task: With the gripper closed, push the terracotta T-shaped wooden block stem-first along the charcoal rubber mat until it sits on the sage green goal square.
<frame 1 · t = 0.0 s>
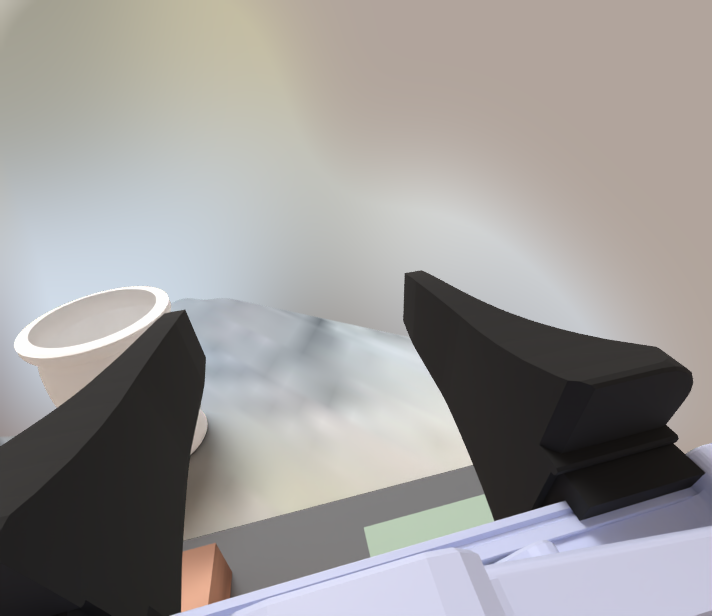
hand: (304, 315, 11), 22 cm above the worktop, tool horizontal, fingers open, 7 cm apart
mat: (490, 612, 21), on the worktop
jar: (165, 440, 35), on the worktop
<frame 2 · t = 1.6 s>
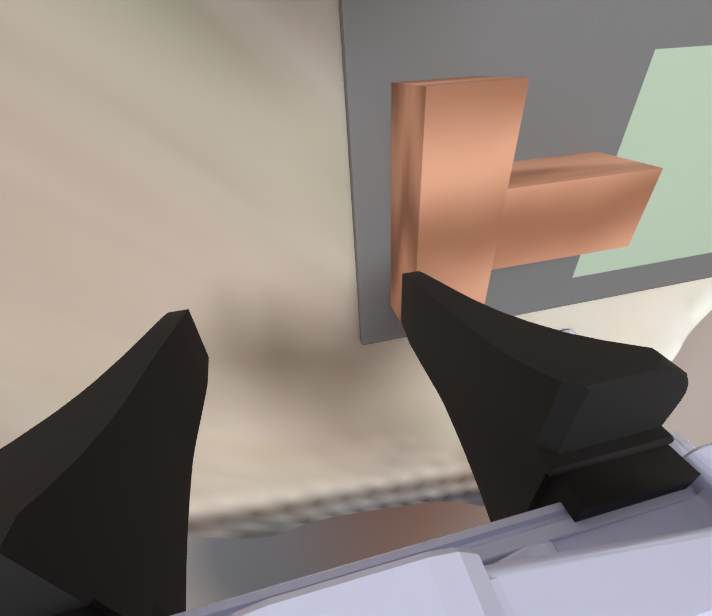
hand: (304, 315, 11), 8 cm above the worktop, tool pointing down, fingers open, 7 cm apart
mat: (686, 169, 22), on the worktop
t block: (492, 200, 19), point 1 cm above the worktop, touching mat
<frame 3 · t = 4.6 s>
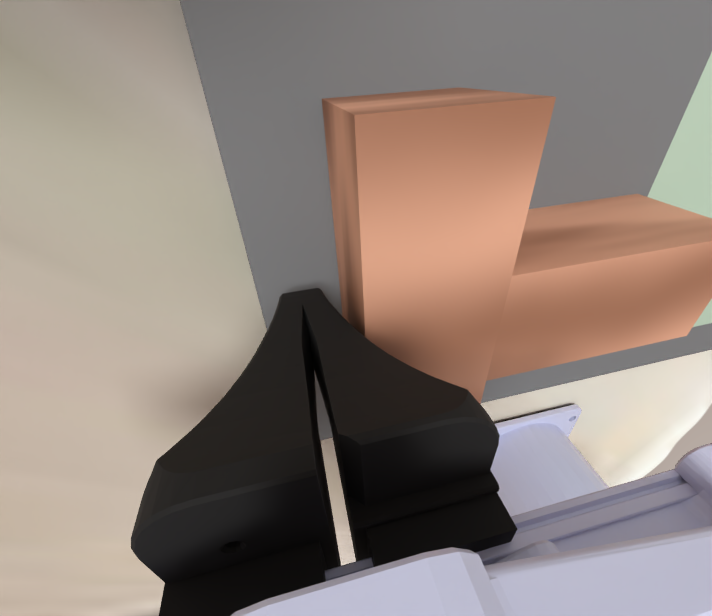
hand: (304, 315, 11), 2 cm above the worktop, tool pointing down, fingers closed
t block: (487, 262, 14), point 1 cm above the worktop, touching mat
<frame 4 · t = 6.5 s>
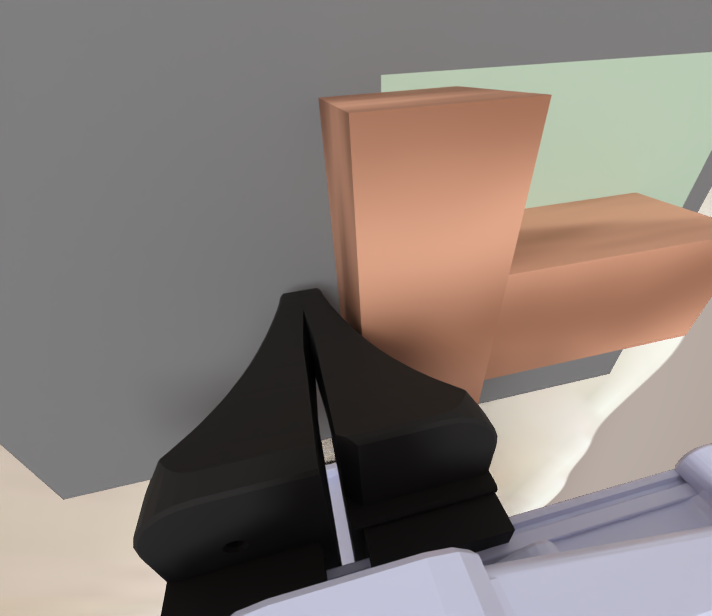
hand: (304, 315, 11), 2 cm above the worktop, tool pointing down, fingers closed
mat: (526, 250, 14), on the worktop
t block: (486, 261, 14), point 1 cm above the worktop, touching gripper, mat
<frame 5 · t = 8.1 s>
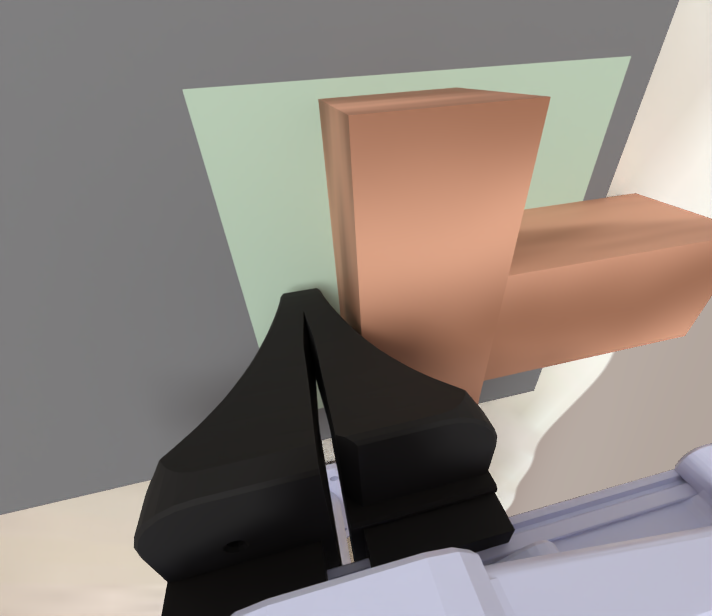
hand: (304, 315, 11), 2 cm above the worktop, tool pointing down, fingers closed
mat: (412, 268, 14), on the worktop
t block: (485, 262, 14), point 1 cm above the worktop, touching gripper, mat
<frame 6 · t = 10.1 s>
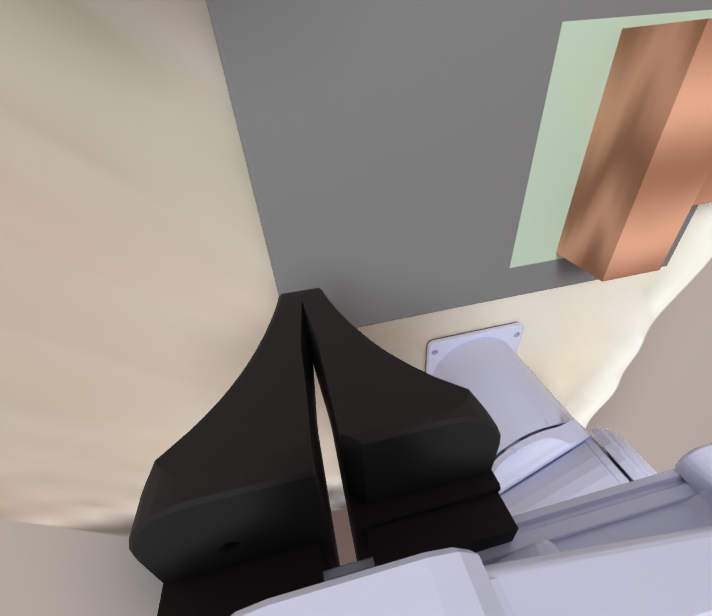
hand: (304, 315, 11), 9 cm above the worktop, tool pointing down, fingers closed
mat: (620, 152, 21), on the worktop
t block: (670, 147, 21), point 1 cm above the worktop, touching mat
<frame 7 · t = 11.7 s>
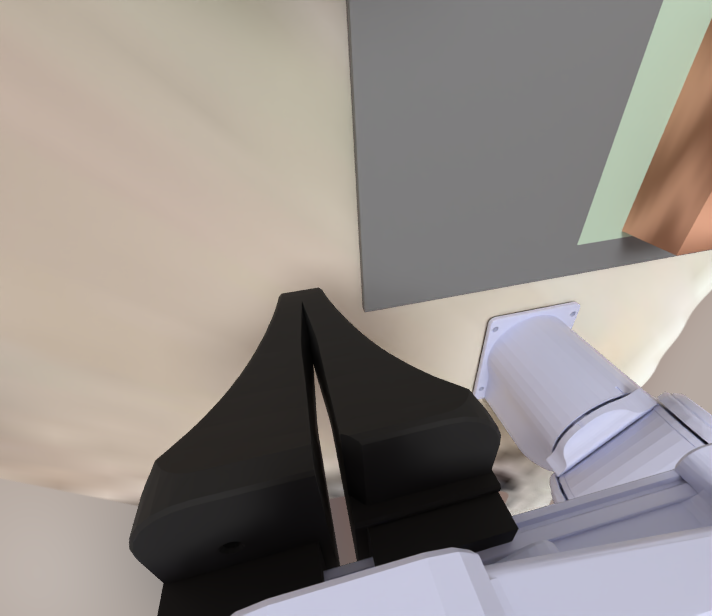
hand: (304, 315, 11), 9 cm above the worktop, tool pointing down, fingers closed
mat: (693, 132, 22), on the worktop
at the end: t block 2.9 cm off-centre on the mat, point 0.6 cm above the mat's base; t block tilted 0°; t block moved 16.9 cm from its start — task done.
